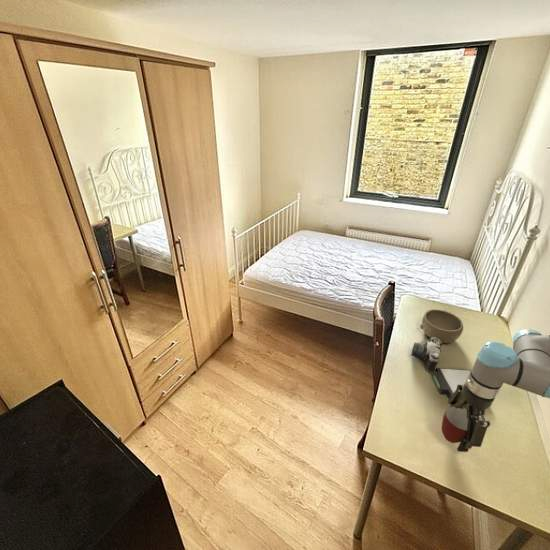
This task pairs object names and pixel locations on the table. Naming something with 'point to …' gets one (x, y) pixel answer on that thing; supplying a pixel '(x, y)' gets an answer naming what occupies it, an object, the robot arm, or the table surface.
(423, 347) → the camera
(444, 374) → the scale
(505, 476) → the table surface
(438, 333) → the bowl
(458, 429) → the mug
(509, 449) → the table surface
